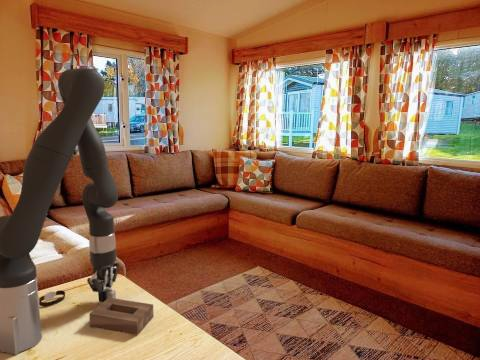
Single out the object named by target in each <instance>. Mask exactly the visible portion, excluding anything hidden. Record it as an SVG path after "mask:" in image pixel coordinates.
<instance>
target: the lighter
mask: <svg viewBox="0 0 480 360" xmlns="http://www.w3.org/2000/svg"><path fill="white" fill-rule="evenodd" d="M101 281H102V280H101ZM100 286H101V287H102V285H101V284H100ZM112 288H113V287H112V286H111V287H106V290H105V291H106V300H107V299H108V298H115V299H117V297H116V296H117V294H116V293H117V292H116V290H113V289H112ZM102 303H103V302H101V304H102Z"/></svg>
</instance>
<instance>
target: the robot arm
mask: <svg viewBox="0 0 480 360" xmlns="http://www.w3.org/2000/svg"><path fill="white" fill-rule="evenodd" d="M105 85H106V84H105V80H104V78H103V76H102V74H101V72H99V71H98V70H96V69H94V68H87V67H84V68H70V69H66V70H64V71H62V72H61V73H60V75H59V77H58V79H57V88H58V92H59V96H60V98H61V100H62V103H63V107H62V109H61V110H60V111H59V112H58V114H57V116H56V117H55V118H54V119H53V120H52V121H51V122H50V123H49V124H48V125H47V126H46V127H45V128H44V129H43V130H42V131H41V132H40V134H39V135H38V136H37V138H36V139H35V141H34V142H33V144H32V147H31V149H30V151H29V153H28V154H27V156H26V160H25V162H24V165H23V172H22V179H21V180H22V182H21V188H20V189H21V190H20V193H19V194H20V195H19V197H18V200H17V203H16V205H15V207H14V209H13V211H12V212H11V214H10V215H9V214H8V215H1V216H0V352H2V353H7V354H12V355H18V354H19V353H21V352H23V351H27V350H29V349H30V348H32V347H35V346H36V345H37V344H38V343H39V342H40V341H42V337H43V336H42V334H43V333H42V323H41V313H40V312H41V311H40V305H39V299H40V297H39V288H38V277H37V275H38V274H37V267H36V264H35V263H34V261H33V259H32V257H31V255H30V253H31V252H32V251H33V250H34V249H35V247H36V246H37V244H38V242H39V239H40V236H41V234H42V233H41V232H42V231H43V227H44V224H45V220H46V218H47V215H48V212H49V209H50V206H51V205H52V204H51V203H52V201H53V200H54V197H55V195H56V193H57V191H58V189H59V186H60V184H61V181H62V179H63V177H64V175H65V173H66V171H67V169H68V167H69V165H70V163H71V160H72V158H73V155H74V152H75V150H76V148H78V149H77V150H78V154H79V160H80V165H81V170H82V174H83V175H84V176H85V177H86V178H89V179H90V180H91V181H92V182H88V183H87V184H86V185H85V186H84V188H83V190H82V193H81V200H82V201H81V202H82V204H83V207H84V211H85V214H86V216H87V220H88V224H89V225H88V228H89V229H88V230H89V238H88V239H89V240H88V244H89V245H88V246H89V261H90V264H91V265H92V267H93V270H92V276H91V277H88V278H87V280H86V282H87V284H88V285H89V287H90V289H91V291H92V292H93V293H98V298H97V299H98V301H99V303H102V302H104V301H105V300H106V291H105V290H106V287H111V288H112V286H113V283H116V279H117V277H118V276H117V275H118V271H119V267H120V263H119V262H116V261H117V244H116V243H117V241H116V235H115V220H114V216H113V214H111V213H109V212H108V211H107V210H106V209H110V208H112V207H114V206H115V205H116V203H117V202H118V199H119V190H118V186H117V183H116V182H115V179H114V177H113V174H112V172H111V171H110V168H109V165H108V158H107V152H106V148H105V145H104V142H103V140H102V139H101V138H102V137H101V136H100V134H99V132H98V130H97V129H96V126H95V124H94V122H93V120H92V115H93V114H94V112H95V110H97V107H98V106H99V104H100V102H101V100H102V98H103V97H104V93H105V88H106V86H105ZM101 280H102V281H101ZM100 284H101V285H102V287H101V286H100Z"/></svg>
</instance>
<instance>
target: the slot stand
mask: <svg viewBox="0 0 480 360" xmlns="http://www.w3.org/2000/svg"><path fill="white" fill-rule="evenodd" d="M154 316H155V315H154V304H153V303H152V304H151V303H147V302H140V301H133V300H126V299H120V298H116V299H115V298H108V299H107V300H105V301H104V302H103V303H102V302H101V303H100V304H99V305H97V307H96V308H95V309H93V310H91V311H90V313H89V327H90V328H94V329H101V330H105V331H111V332H119V333H122V334H128V335H133V336H139V334H140V333H141V332H142V331H143V330H144V329H145V328H146V326H147V325H148V324H149V322H151V321H152V319H154Z"/></svg>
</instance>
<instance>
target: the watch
mask: <svg viewBox="0 0 480 360" xmlns="http://www.w3.org/2000/svg"><path fill="white" fill-rule="evenodd" d="M60 295H61V297H59V298H57V299H55V300H53V299H54V298H55V297H56V296H60ZM65 296H66V292H65V290H57V291H55V290H49V291H47V292H46V293H45V294H44V295H42V296H41V297H39V307H40V306H41V307H44V308H45V307H50V306H54V305H56V304H58V303H60V302H62V301H64V300H65V298H66V297H65ZM50 300H51V301H50ZM44 301H47V302H44Z"/></svg>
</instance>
